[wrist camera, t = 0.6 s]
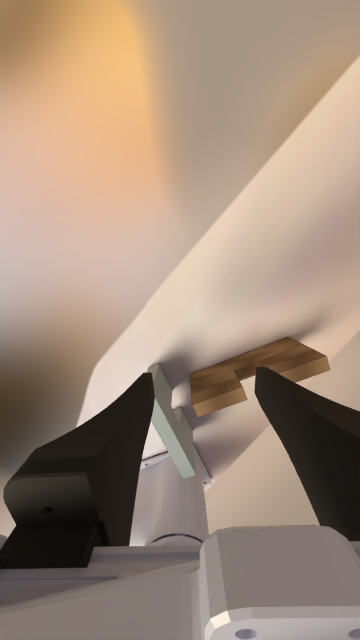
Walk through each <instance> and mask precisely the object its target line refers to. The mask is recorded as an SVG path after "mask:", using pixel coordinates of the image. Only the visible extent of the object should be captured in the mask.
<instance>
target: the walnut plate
mask: <svg viewBox="0 0 360 640" xmlns="http://www.w3.org/2000/svg"><path fill="white" fill-rule="evenodd" d="M256 367H267V368H269V369H271V370H273V371H275V372H277V373H278V374H280V375H282V376H284V377H285V378H287V379H289V380H291V381H292V382H294V383H295V382H298V381H301V380H304V379H307V378H309V377H312V376H315V375H318V374H321V373H323V372H326V371H329V370H330V367H329V363H328V359H327V356H325V355H323V354H322V353H320V352H318V351H316V350H314V349H312V348H310V347H308V346H306V345H304V344H302V343H300V342H298V341H296V340H294V339H292V338H290V337H286V338H283V339H281V340H278V341H275V342H273V343H270V344H268V345H265V346H262V347H260V348H257V349H255V350H252V351H249V352H247V353H244V354H242V355H239V356H236V357H234V358H231V359H229V360H226V361H223V362H221V363H218V364H216V365H213V366H211V367H208V368H205V369H203V370H200V371H198V372H195V373H192V374H190V385H191V396H192V406H193V408H194V410H195V412H196V414H197V416H198V417H201V416H203V415H206V414H209V413H212V412H215V411H217V410H220V409H223V408H226V407H229V406H231V405H234V404H237V403H240V402H242V401H245V400H248V399H247V396H246V394H245V391H244V389H243V387H242V385H241V383H240V381H241V380H244V379H246V378H249V377H252V376H254V375H256Z"/></svg>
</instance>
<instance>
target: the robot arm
mask: <svg viewBox="0 0 360 640" xmlns="http://www.w3.org/2000/svg"><path fill="white" fill-rule="evenodd" d="M255 395H256V397H257V399H258V402H259V404H260V406H261V408H262V410H263V411H264V413H265V415H266V416H267V418H268V420H269V421H270V423H271V425H272V426H273V428H274V430H275V431H276V433H277V435H278V436H279V438H280V440H281V441H282V443H283V445H284V447H285V449H286V451H287V453H288V455H289V457H290V459H291V461H292V463H293V465H294V467H295V469H296V472H297V474H298V476H299V478H300V480H301V482H302V485H303V487H304V489H305V491H306V493H307V496H308V498H309V500H310V503H311V505H312V507H313V510H314V512H315V514H316V516H317V519H318V521H319V524H320V526H319V525H281V526H241V527H230V528H224V529H220V530H217V531H215V532H214V533H212V534H210V535H209V532H208V523H207V514H206V505H205V495H204V486H205V485H208V484H210V483H211V479H210V477H209V475H208V473H207V471H206V469H205V467H204V465H203V463H202V461H201V459H200V457H199V455H198V453H197V451H196V449H195V447H194V456H195V469H196V475H194V476H191V477H188V478H185V479H183V478H182V476H181V474H180V472H179V470H178V469H177V467H176V465H175V463H174V461H173V460H172V458H171V456H170V454H169V452H168V453H165V454H162V455H159V456H156V457H153V458H150V459H147V460H144V461H141V460H142V454H143V450H144V445H145V441H146V437H147V433H148V430H149V426H150V422H151V418H152V414H153V409H154V401H155V393H154V385H153V377H152V372H148V373H143V374H142V375H141V376H140V377H139V378H138V379H137V380H136V381H135V382H134V383H133V384H132V385H131V386H130V387H129V388H128V389H127V390H126V391H125V392H124V393H123V394H122V395H121V396H120V397H119V398H117V399H116V400H115V401H114V402H113V403H112V404H110V405H109V406H108V407H107V408H105V409H104V410H103V411H101V412H100V413H99V414H97V415H96V416H94V417H93V418H91V419H90V420H88V421H87V422H85V423H84V424H82V425H80V426H79V427H77V428H75V429H74V430H72V431H70V432H68V433H67V434H65V435H63V436H61V437H59V438H57V439H55V440H53V441H51V442H49V443H47V444H45V445H43V446H41V447H39V448H37V449H35V450H34V451H33V452H32V454H31V455H30V456H29V457H28V458H27V460H26V461H25V462H24V463H23V464H22V466H21V467H20V468H19V469H18V470H17V472H16V473H15V474H14V475H13V476H12V478H11V479H10V480H9V481H8V482H7V484H6V486H5V488H4V494H3V495H4V496H3V497H4V501H5V504H6V506H7V508H8V510H9V512H10V513H11V515H12V517H13V519H14V521H15V523H16V527H15V528H14V530H13V531H12V533H11V534H10V536H9V537H8V538H7V537H6V536H3V535H0V640H360V411H357V410H354V409H352V408H349V407H346V406H344V405H341V404H339V403H336V402H334V401H331V400H329V399H327V398H324V397H322V396H320V395H318V394H316V393H313V392H312V391H310V390H308V389H306V388H304V387H302V386H300V385H298V384H296V383H294V382H292V381H291V380H289V379H287V378H285V377H284V376H282V375H280V374H278V373H277V372H275V371H273V370H271V369H269V368H267V367H256V378H255Z"/></svg>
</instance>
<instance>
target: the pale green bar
mask: <svg viewBox="0 0 360 640" xmlns="http://www.w3.org/2000/svg"><path fill="white" fill-rule="evenodd" d="M148 372H152V377H153V385H154V393H155V401H154V409H153V414H152V418H151V422H152V423H153V425H154V427H155V429H156V431H157V432H158V434H159V436H160V438H161V440H162V441H163V443H164V445H165V447H166V449H167V451H168V452H169V454H170V456H171V458H172V460H173V461H174V463H175V465H176V467H177V469H178V470H179V472H180V474H181V476H182V478H183V479H185V478H188V477H191V476H194V475H196V469H195V456H194V443H193V431H192V429H191V427H190V425H189V423H188V421H187V419H186V417H185V415H184V413H183V411H182V409H181V407H179V408H176V409H174V410H173V409H172V407H171V401H172V388H171V386H170V384H169V382H168V380H167V378H166V376H165V374H164V372H163V370H162V368H161V366H160V364H156V365H154V366H151V367H149V368H148V370H147V373H148Z"/></svg>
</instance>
